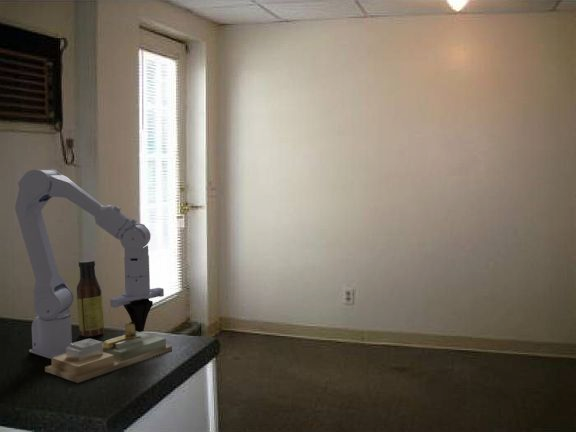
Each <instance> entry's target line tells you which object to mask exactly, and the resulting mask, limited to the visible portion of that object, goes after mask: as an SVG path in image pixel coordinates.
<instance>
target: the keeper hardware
mask: <svg viewBox="0 0 576 432" xmlns="http://www.w3.org/2000/svg"><path fill="white" fill-rule="evenodd" d="M122 336H125V334H123V335H120V336H116V337H112V338H109V339H107V340H104V341H100V340H98V339H97V340H96V339H93V338H91V337H88V338H85V339H82V340H79V341H74V342H72V343H71V344H70V347H66V357H67V358H70V359H73V360H76V361H79V362H80V361H83V360H86V359H89V358H92V357H96V356H99V355H102V354H103V342H105V341H108V340H112V339H115V338H119V337H122ZM140 342H142V337H141V336H138V337H135V338H132V339H128V340H125V341H122V342H118V343H115V349H121V348H124V347H127V346H130V345H134V344H137V343H140Z"/></svg>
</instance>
